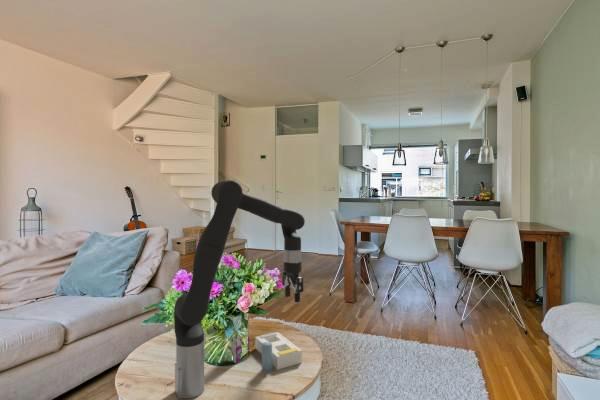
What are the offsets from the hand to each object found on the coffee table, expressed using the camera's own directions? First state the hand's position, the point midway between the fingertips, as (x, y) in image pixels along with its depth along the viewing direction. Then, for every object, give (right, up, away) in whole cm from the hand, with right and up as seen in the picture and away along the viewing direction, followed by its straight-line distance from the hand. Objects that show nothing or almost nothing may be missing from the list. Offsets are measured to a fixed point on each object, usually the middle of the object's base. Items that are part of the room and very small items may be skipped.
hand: (292, 299), depth 140 cm
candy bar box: (-23, -25, +1) cm, 34 cm away
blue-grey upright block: (-10, -25, -9) cm, 28 cm away
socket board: (-6, -25, +3) cm, 26 cm away
